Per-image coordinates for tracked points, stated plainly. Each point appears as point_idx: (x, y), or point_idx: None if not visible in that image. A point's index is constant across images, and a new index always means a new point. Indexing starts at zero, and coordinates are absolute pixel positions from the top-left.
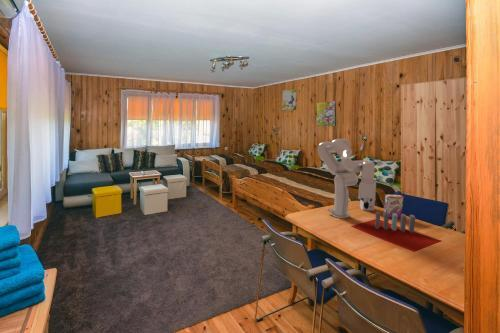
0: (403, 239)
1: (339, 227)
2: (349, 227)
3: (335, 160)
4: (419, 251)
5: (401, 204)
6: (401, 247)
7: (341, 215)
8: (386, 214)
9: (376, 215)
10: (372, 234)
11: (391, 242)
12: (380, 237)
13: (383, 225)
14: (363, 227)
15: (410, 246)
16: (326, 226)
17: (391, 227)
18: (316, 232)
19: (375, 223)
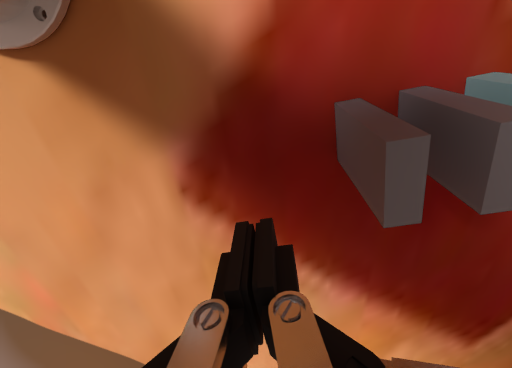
0: (475, 255)
1: (124, 242)
2: (174, 218)
3: None
4: (496, 338)
5: None
6: (430, 332)
7: (4, 19)
8: (495, 205)
9: (372, 188)
10: (314, 259)
11: (398, 307)
12: (353, 278)
13: (406, 106)
14: (255, 178)
15: (477, 312)
16: (57, 259)
17: (468, 82)
18: (68, 335)
19: (343, 130)
